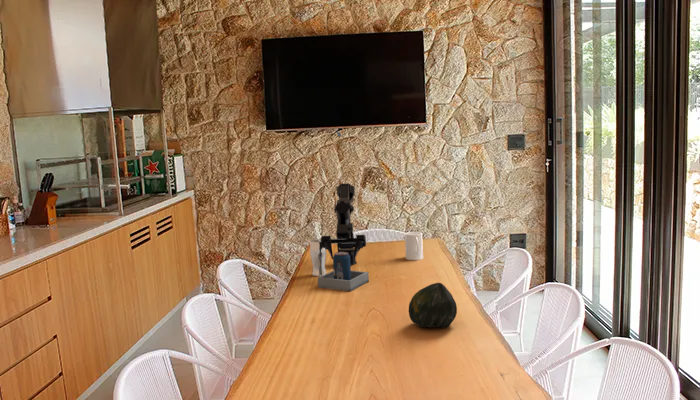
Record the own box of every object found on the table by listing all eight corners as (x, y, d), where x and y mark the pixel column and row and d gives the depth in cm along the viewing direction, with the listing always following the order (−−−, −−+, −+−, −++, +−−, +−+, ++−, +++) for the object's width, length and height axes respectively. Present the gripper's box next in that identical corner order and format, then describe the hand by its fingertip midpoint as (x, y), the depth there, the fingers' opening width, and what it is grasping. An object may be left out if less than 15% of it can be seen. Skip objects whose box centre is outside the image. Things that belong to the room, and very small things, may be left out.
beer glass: (328, 272, 270) (326, 238, 268) (326, 276, 263) (324, 242, 261) (312, 272, 271) (311, 239, 269) (310, 276, 264) (308, 242, 262)
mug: (426, 261, 284) (425, 235, 282) (407, 262, 283) (407, 236, 282) (421, 255, 295) (421, 231, 294) (404, 256, 295) (403, 231, 293)
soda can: (348, 279, 254) (347, 250, 252) (353, 283, 247) (351, 253, 246) (332, 280, 252) (330, 252, 251) (336, 285, 246) (335, 255, 244)
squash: (398, 303, 204) (412, 277, 193) (438, 299, 209) (454, 273, 198) (412, 341, 195) (428, 316, 184) (454, 336, 200) (471, 311, 189)
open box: (318, 287, 247) (317, 277, 247) (337, 278, 260) (336, 269, 259) (350, 291, 240) (350, 281, 239) (368, 281, 253) (368, 272, 252)
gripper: (320, 217, 258) (318, 248, 249) (364, 215, 257) (365, 247, 248) (322, 231, 267) (321, 262, 258) (365, 230, 266) (366, 261, 257)
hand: (343, 258), depth 255 cm, fingers open, 9 cm apart
